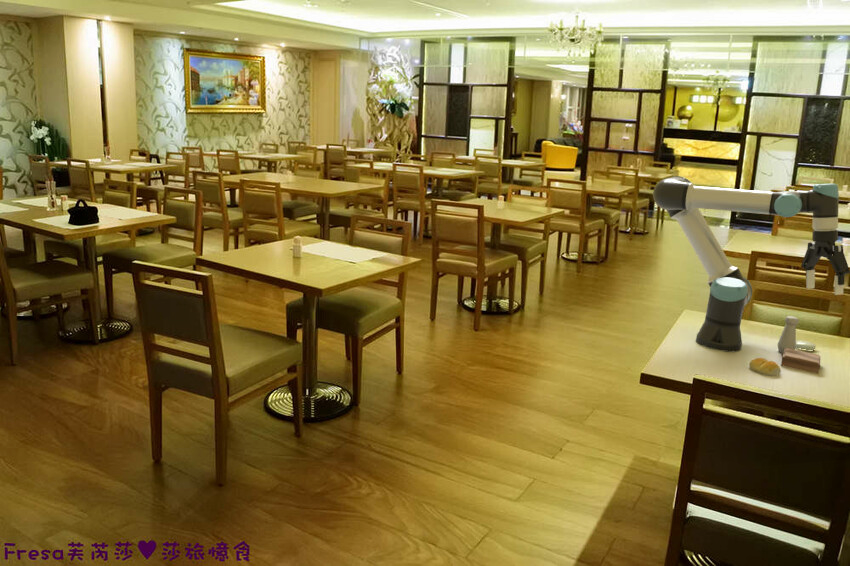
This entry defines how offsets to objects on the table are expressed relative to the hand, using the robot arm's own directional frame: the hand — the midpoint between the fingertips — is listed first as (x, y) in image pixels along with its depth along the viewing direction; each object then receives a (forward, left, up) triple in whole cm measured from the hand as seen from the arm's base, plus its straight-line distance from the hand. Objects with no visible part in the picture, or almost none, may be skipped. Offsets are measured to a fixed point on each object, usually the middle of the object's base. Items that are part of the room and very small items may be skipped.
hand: (824, 291), depth 241 cm
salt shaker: (-8, +3, -23) cm, 25 cm away
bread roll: (-31, -13, -24) cm, 41 cm away
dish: (+4, +7, -23) cm, 25 cm away
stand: (-13, -9, -23) cm, 28 cm away
